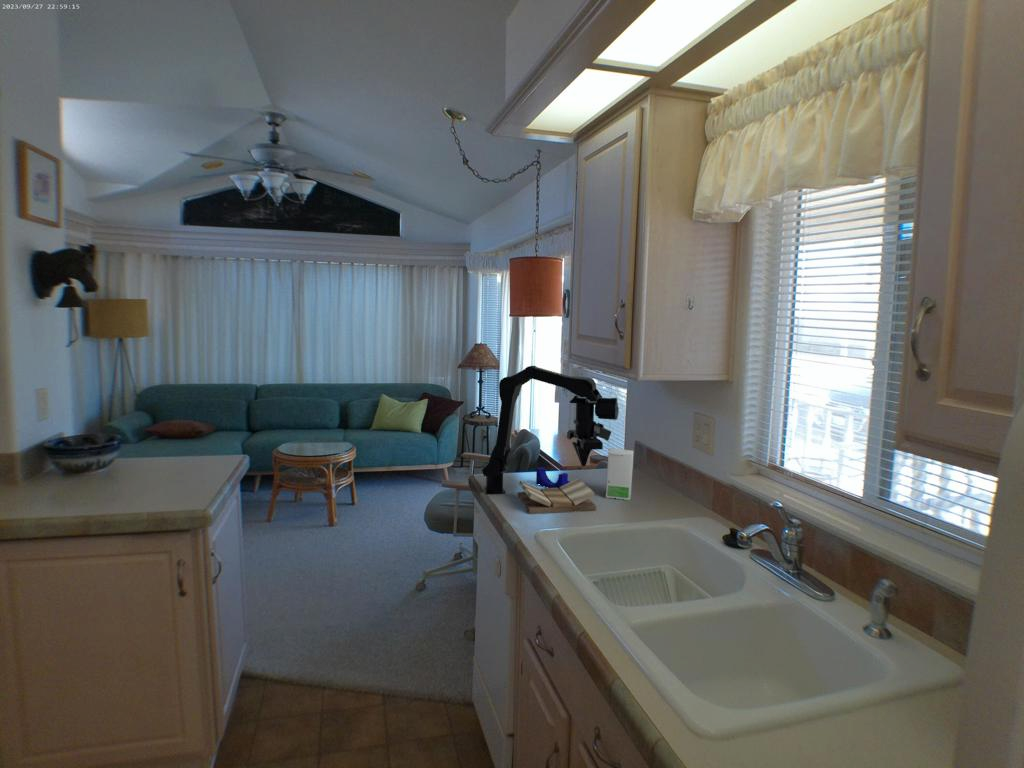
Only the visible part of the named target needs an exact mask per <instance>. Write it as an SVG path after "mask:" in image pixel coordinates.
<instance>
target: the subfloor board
mask: <svg viewBox="0 0 1024 768" xmlns="http://www.w3.org/2000/svg"><path fill="white" fill-rule="evenodd" d="M561 492H562V491H561ZM562 493H563V492H562ZM516 496H518V497H517V498H518V500H519V499H520V500H519V501H520V502H521V504H522V506H525V507H524V508H525V509H527V510H526V511H527V512H528V514H529V515H539V514H560V513H575V511H576V513H578V512H577V511H582V512H595V510H596V511H597V505H596V504H595V503H594V502H592V501H591V500H590V498H589V499H587V500H585V501H583V502H581V503H579V504H577V505H574V504H573V503H572V506H566V507H552V505H550V507H549V506H547V505H544V504H542V503H540V502H537V501H535V500H533V499H530V498H529V497H528V495H527V494H526V493H525V491H517V495H516Z"/></svg>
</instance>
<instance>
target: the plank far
mask: <svg viewBox="0 0 1024 768" xmlns="http://www.w3.org/2000/svg"><path fill="white" fill-rule="evenodd" d="M559 488H560V490H561V491H562V492H563V494H564V495H565V496H566V497H567V498H568V499H569V500H570V501H571V502H572V503H573V504H574V505H577V504H579V503H581V502H583V501H585V500H587V499H589V500H590V499H591V498H593V497H594V496H595V492H594V490H592V489H591V488H590V487H588V486H587V484H585V483H584V482H583V481H582V480H581V479H579V478H575V479H573V480H571V481H570V482H569V483H567V484H565V485H563V486H561V487H559Z"/></svg>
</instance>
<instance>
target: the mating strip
mask: <svg viewBox="0 0 1024 768" xmlns="http://www.w3.org/2000/svg"><path fill="white" fill-rule="evenodd" d="M539 489H540V490H541V491H542V493H543V494H544V495H545V496H546V497H547V499H548V500H549V501H550V502H551V505H552V507H566V506H572V502H571V501H570V500H569V499H568V498H567V497H566V496H565V495H564V494H563V493H562V492H561V490H560V489H559V488H546V487H544V488H542V487H541V488H539Z"/></svg>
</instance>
